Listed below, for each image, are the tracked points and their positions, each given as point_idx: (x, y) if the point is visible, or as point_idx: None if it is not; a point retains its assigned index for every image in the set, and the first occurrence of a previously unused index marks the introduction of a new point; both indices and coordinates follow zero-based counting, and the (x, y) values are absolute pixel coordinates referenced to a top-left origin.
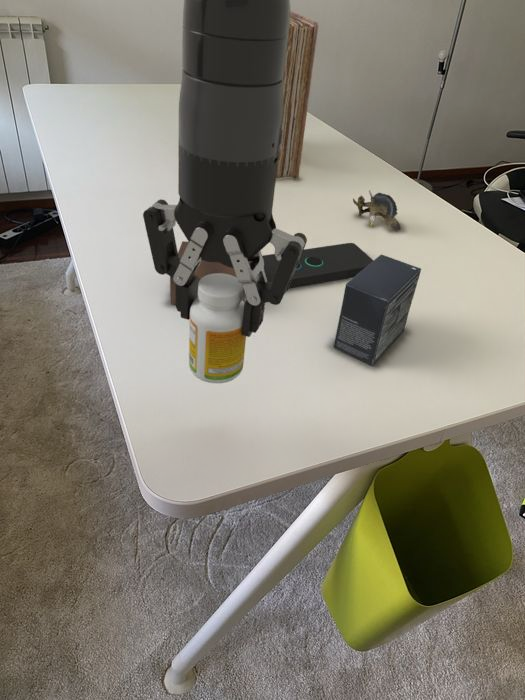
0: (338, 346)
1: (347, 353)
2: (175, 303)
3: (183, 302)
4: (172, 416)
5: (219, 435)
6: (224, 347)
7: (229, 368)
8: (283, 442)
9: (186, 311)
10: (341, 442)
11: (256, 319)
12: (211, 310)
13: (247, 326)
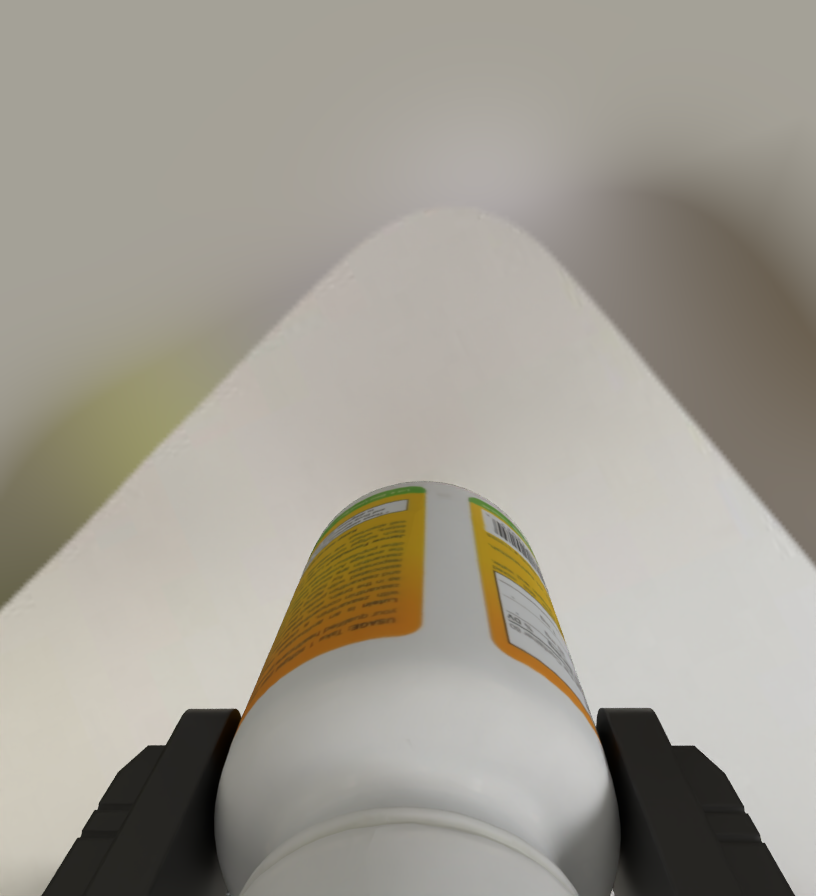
0: (227, 893)
1: None
2: None
3: (678, 807)
4: (562, 477)
5: (406, 465)
6: (318, 600)
7: (318, 551)
8: (234, 512)
9: (628, 749)
10: (94, 573)
11: (102, 835)
12: (416, 792)
13: (170, 762)
